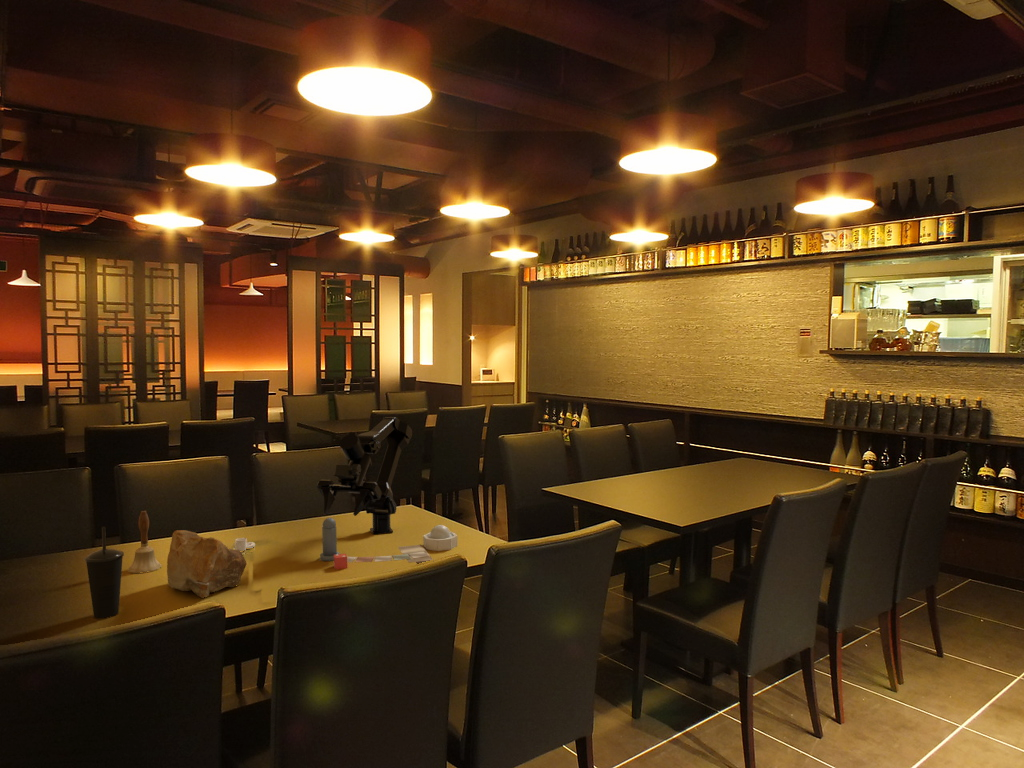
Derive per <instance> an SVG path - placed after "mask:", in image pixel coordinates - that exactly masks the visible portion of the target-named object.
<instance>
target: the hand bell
mask: <svg viewBox="0 0 1024 768" xmlns="http://www.w3.org/2000/svg"><path fill="white" fill-rule="evenodd" d="M148 515H149V514H148V513H147V510H141V511H140V513H139V517H138V529H139V532H140V547H138V548H137V549H136V550H135V551H134V559H133V561H132V564H131V565H130V566H128V568H127V572H128V571H129V572H128V573H130V572H133V573H132V574H141V573H140V572H147V571H152V572H154V571H153V570H156V569H158V570H159V568H160V567H161V566H162V564H161V563H160V562H159V561H158V560H157V558H156V556H155V551H154V547H152V546H149V540H148V531H149V527H150V518H149V516H148ZM162 567H163V566H162ZM162 567H161V568H162ZM161 568H160V569H161ZM156 571H157V570H156ZM147 573H148V572H147Z"/></svg>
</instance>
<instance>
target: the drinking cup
mask: <svg viewBox="0 0 1024 768" xmlns="http://www.w3.org/2000/svg"><path fill="white" fill-rule="evenodd" d="M106 537H107V535H106V527H105V526H102V527H101V538H102V539H101V541H102V543H101V544H102V549H98V550H96V551H93V552H91V553H89V554H87V555H86V556H85V557H84V562H86V569H87V570H86V571H87V576H88V583H89V591H90V597H91V598H90V599H91V605H92V611H93V612H92V613H93V617H94V619H97V618H103V619H108V618H107V617H109V618H111V617H110V616H113V617H115V616H117V615H118V614H119V611H120V597H121V584H122V583H121V582H122V571H123V569H122V568H123V557H124V556H125V552H124V551H123V550H118V549H115V548H107V542H106V541H107V539H106ZM116 614H117V615H116ZM114 615H115V616H114Z"/></svg>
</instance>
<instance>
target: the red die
mask: <svg viewBox="0 0 1024 768" xmlns="http://www.w3.org/2000/svg"><path fill="white" fill-rule="evenodd" d="M347 557H348V555H347V553H339V554H336V555H334V561H333V567H334V570H343V569H348V562H347Z"/></svg>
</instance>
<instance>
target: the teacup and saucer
mask: <svg viewBox="0 0 1024 768" xmlns="http://www.w3.org/2000/svg"><path fill="white" fill-rule="evenodd" d="M247 539H248V538H246V537H238V538H236V539H235V540H234V542H233V545H232V546H233V549H235V550H239V551H243V550H245V551H247V550H246V548H253V547H254V548H255V546H256V543H255V542H253V541H248V540H247Z"/></svg>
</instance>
